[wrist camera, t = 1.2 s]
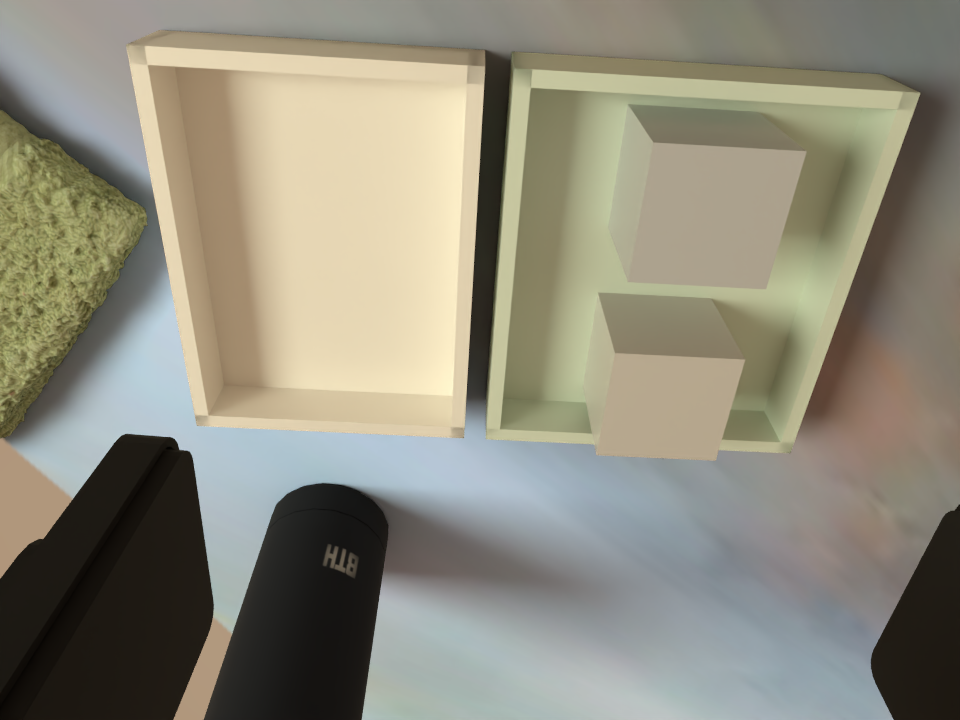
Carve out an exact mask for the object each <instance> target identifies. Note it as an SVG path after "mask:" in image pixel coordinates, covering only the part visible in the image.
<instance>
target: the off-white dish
mask: <svg viewBox="0 0 960 720" xmlns="http://www.w3.org/2000/svg"><path fill="white" fill-rule="evenodd" d="M126 47H127V52H128V58H129V63H130V68H131V74H132V79H133V85H134V90H135V95H136V101H137V106H138V112H139V117H140V122H141V128H142V133H143V138H144V144H145V149H146V155H147V160H148V165H149V171H150V176H151V182H152V187H153V192H154V198H155V203H156V208H157V214H158V219H159V225H160V230H161V235H162V241H163V246H164V252H165V257H166V262H167V268H168V273H169V278H170V284H171V289H172V295H173V300H174V305H175V311H176V316H177V322H178V327H179V332H180V338H181V343H182V348H183V354H184V359H185V365H186V370H187V375H188V381H189V386H190V392H191V397H192V402H193V408H194V413H195V419H196V424H197V426H211V427H232V428H254V429H276V430H297V431H319V432H341V433H362V434H384V435H406V436H427V437H449V438H464V428H465V410H466V393H467V375H468V358H469V340H470V323H471V306H472V288H473V271H474V253H475V236H476V218H477V201H478V184H479V166H480V149H481V131H482V114H483V96H484V79H485V50H477V49H460V48H444V47H428V46H411V45H395V44H379V43H362V42H346V41H329V40H313V39H297V38H280V37H264V36H247V35H231V34H215V33H198V32H182V31H166V30H158V31H156V32H154V33H151V34H149V35H147V36H145V37H142V38H140V39H138V40H136V41H134V42H131V43H129V44H127V45H126Z"/></svg>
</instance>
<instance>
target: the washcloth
mask: <svg viewBox="0 0 960 720" xmlns="http://www.w3.org/2000/svg"><path fill="white" fill-rule="evenodd" d="M146 222H147V216H146V211H145V208H144V207H142V206H140V205H139V204H138V203H136V202H133V201H131V200H129V199H128V198H126V197H124V195H123V194H122V193H121V192H120V191H119V190H118V189H117V188H115V187H113V186H111V185H109V184H108V183H107V182H106V181H105V180H103V179H101V178H100V177H99V176H96V175H93V174H92V173H90V172H89V169H88V168H86V167H84V166H83V165H82V164H79V163H78V162H77V161H76V160H75V159H73V158H71V157H70V156H68V155H67V154H65V152H64V150H63V149H62V148H61V147H60V146H59V145H58V144H57V143H54V142H53V141H50V140H47V139H39V138H37V137H36V136H35V135H33V134H31V133H30V132H29V131H28V130H27V129H26V128H25V127H24V126H23V125H21V124H19V123H18V122H16V121H15V120H13V119H12V118H11V117H10V116H9V115H8V114H7V113H5V112H4V111H2V110H0V438H2V437H3V438H5V437H7V436H10V435H11V434H12V432H13V431H14V430H15V429H16V427H17V425H18V424H19V423H20V422H24V413H27V411H26V409H28V407H29V405H30V404H31V403H32V402H34V401H35V399H36V398H37V397H38V396H39V394H40V393H41V392H42V388H43V386H44V385H45V384H46V383H48V380H49V377H50V376H52V375H53V369H55V368H56V367H58V366H59V365H60V364H61V362H62V361H63V358H64V357H65V356H66V354H67V353H68V352H69V351H70V350H71V349H72V346H73V344H75V342H76V340H77V336H78V335H79V334H80V333H83V332H84V330H85V329H86V328H87V326H88V322H90V319H91V314H92V313H93V312H94V311H95V310H96V309H97V308H98V307H99V306H102V304H103V302H104V300H105V299H106V298H107V291H106V290H107V289H109V288H111V287H112V285H113V283H114V282H116V281H117V280H118V278H119V276H120V273H119V269H122V268H123V267H124V263H123V262H124V260H125V259H126V258H127V257H128V255H129V254H130V253H131V252H132V250H133V248H134V247H135V246H136V245H137V244H138V241H139V238H140V235H141V232H142V231H143V228H144V226H148V225H147V223H146Z"/></svg>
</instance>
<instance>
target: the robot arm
mask: <svg viewBox="0 0 960 720" xmlns="http://www.w3.org/2000/svg"><path fill="white" fill-rule="evenodd" d="M213 609H214V604H213V595H212V589H211V582H210V575H209V568H208V561H207V554H206V547H205V540H204V533H203V526H202V519H201V512H200V505H199V498H198V491H197V484H196V477H195V471H194V464H193V458H192V455H191V453H190V452H189V451H184V450H179V447H178V444H177V442H176V440H175V439H173V438H171V437H159V436H146V435H133V434H125V435H122V436H121V437H120V438H119V439H118V440H117V441H116V442H115V443H114V445H113V446H112V447H111V449H110V450H109V451H108V453H107V454H106V455H105V457H104V458H103V459H102V461H101V462H100V463H99V465H98V466H97V467H96V469H95V470H94V472H93V473H92V474H91V476H90V477H89V478H88V480H87V481H86V482H85V484H84V485H83V486H82V488H81V489H80V490H79V492H78V493H77V494H76V496H75V497H74V498H73V500H72V501H71V503H70V504H69V506H68V507H67V508H66V509H65V511H64V512H63V513H62V515H61V516H60V517H59V519H58V520H57V521H56V523H55V524H54V525H53V527H52V528H51V530H50V531H49V532H48V534H47V535H46V536H45V538H44V539H38V540H36V541H34V542H32V543H30V544H29V545H28V546H27V547H26V548H25V549H24V550H23V551H22V552H21V553H20V554H19V555H18V556H17V558H16V559H15V560H14V562H13V563H12V564H11V566H10V567H9V568H8V570H7V571H6V572H5V574H4V575H3V576H2V578H1V579H0V720H173V719H174V717H175V714H176V712H177V709H178V707H179V704H180V702H181V699H182V697H183V694H184V692H185V690H186V687H187V684H188V682H189V680H190V677H191V675H192V673H193V670H194V668H195V665H196V663H197V660H198V658H199V656H200V653H201V651H202V648H203V646H204V643H205V641H206V639H207V636H208V633H209V631H210V627H211V623H212V618H213ZM871 669H872V674H873V678H874V680H875V683H876V685H877V687H878V689H879V691H880V693H881V695H882V697H883V699H884V701H885V703H886V705H887V707H888V709H889V711H890V713H891V715H892V717H893V719H894V720H960V504H959V505H958V507H957V508H956V509H955V511H950V512H948V513H946V514H945V516H944V517H943V518H942V520H941V522H940V524H939V526H938V528H937V530H936V532H935V533H934V535H933V537H932V539H931V541H930V543H929V545H928V547H927V549H926V551H925V553H924V554H923V556H922V558H921V560H920V562H919V564H918V566H917V568H916V570H915V572H914V574H913V575H912V577H911V579H910V581H909V583H908V585H907V587H906V589H905V591H904V593H903V595H902V596H901V598H900V600H899V602H898V604H897V606H896V608H895V610H894V612H893V614H892V616H891V617H890V619H889V621H888V623H887V625H886V627H885V629H884V631H883V633H882V635H881V637H880V638H879V640H878V642H877V644H876V646H875V648H874V650H873V653H872V658H871Z"/></svg>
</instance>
